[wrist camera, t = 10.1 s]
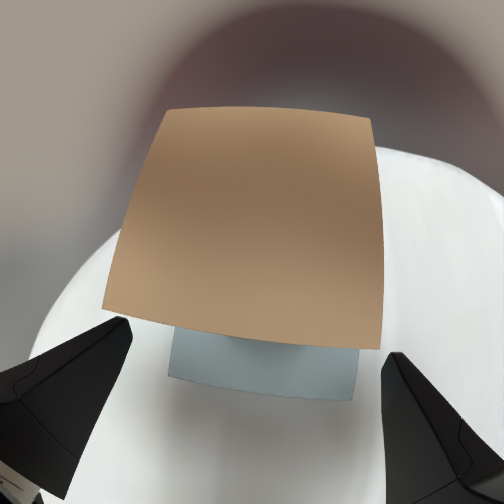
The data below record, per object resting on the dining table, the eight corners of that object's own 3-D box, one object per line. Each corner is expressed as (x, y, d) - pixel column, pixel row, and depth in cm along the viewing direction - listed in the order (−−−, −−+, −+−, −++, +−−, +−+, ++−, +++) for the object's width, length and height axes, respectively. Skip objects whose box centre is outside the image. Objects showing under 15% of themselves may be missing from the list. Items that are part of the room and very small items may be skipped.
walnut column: (305, 345, 16) (380, 349, 4) (226, 335, 17) (101, 308, 5) (313, 268, 18) (369, 118, 5) (237, 260, 18) (167, 110, 6)
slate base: (342, 392, 17) (352, 400, 15) (182, 372, 19) (167, 375, 16) (354, 239, 21) (364, 224, 18) (208, 225, 23) (198, 209, 20)
